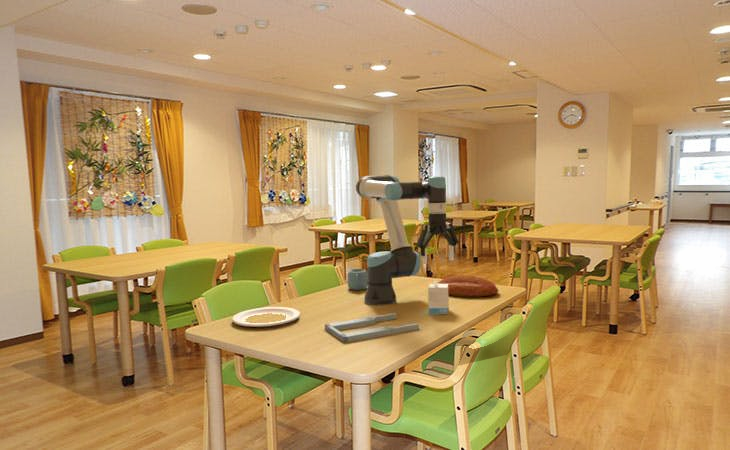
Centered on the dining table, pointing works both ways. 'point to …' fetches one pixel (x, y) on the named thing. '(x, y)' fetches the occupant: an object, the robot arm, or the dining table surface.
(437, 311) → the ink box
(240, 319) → the plate
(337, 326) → the dock
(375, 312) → the dining table surface
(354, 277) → the mug
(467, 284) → the bread
